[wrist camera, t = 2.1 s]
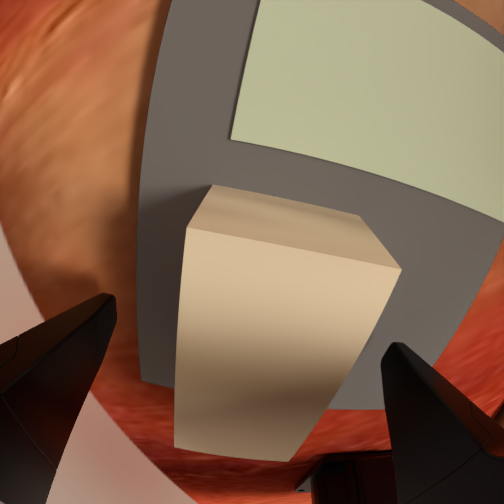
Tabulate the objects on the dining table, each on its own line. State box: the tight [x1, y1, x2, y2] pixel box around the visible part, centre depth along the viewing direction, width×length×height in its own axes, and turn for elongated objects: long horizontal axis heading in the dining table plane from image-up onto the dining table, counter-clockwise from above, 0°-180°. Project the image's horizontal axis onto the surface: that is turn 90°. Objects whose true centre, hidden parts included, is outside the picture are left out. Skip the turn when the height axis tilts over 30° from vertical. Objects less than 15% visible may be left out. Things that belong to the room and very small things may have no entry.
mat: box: [136, 0, 504, 410], centre depth 8 cm, size 16×12×1 cm
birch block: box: [174, 185, 402, 462], centre depth 8 cm, size 8×4×3 cm, turn 169°
